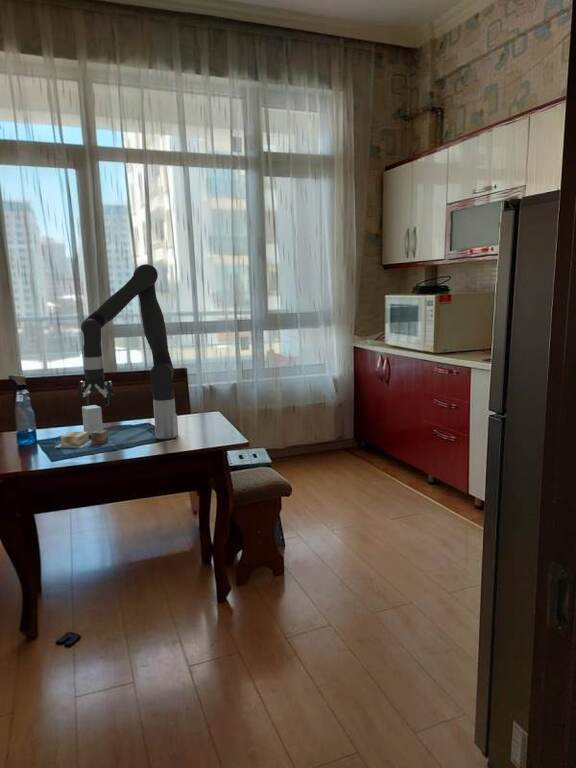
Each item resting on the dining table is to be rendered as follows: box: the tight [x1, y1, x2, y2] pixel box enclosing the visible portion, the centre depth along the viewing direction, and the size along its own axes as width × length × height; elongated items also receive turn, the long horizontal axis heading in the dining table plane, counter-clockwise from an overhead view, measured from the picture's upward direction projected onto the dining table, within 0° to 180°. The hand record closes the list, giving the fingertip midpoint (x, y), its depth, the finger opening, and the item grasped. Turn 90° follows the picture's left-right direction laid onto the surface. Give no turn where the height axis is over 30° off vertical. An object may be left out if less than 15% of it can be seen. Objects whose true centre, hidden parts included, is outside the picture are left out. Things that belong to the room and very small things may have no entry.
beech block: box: [60, 431, 90, 446], centre depth 217 cm, size 8×8×4 cm
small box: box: [81, 404, 104, 436], centre depth 234 cm, size 8×6×13 cm
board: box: [55, 438, 92, 449], centre depth 218 cm, size 12×12×1 cm
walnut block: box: [90, 429, 109, 445], centre depth 218 cm, size 5×5×6 cm
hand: (97, 405), depth 216 cm, fingers open, 8 cm apart
